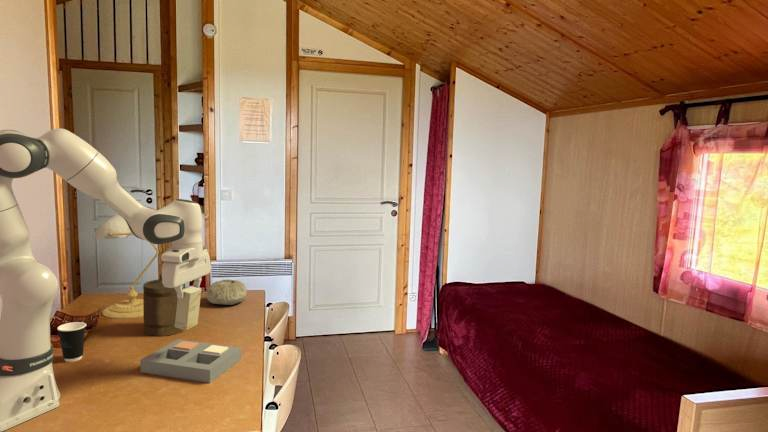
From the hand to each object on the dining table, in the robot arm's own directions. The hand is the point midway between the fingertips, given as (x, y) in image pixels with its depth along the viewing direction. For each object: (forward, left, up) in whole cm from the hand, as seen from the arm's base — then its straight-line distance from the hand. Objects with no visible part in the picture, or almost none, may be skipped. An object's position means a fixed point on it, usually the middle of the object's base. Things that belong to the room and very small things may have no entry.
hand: (188, 294), depth 153 cm
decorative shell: (+63, +25, -24) cm, 72 cm away
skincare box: (0, +1, -11) cm, 11 cm away
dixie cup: (-6, +38, -24) cm, 45 cm away
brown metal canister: (+26, +28, -24) cm, 45 cm away
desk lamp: (+41, +56, -24) cm, 73 cm away
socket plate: (+1, -1, -24) cm, 24 cm away
